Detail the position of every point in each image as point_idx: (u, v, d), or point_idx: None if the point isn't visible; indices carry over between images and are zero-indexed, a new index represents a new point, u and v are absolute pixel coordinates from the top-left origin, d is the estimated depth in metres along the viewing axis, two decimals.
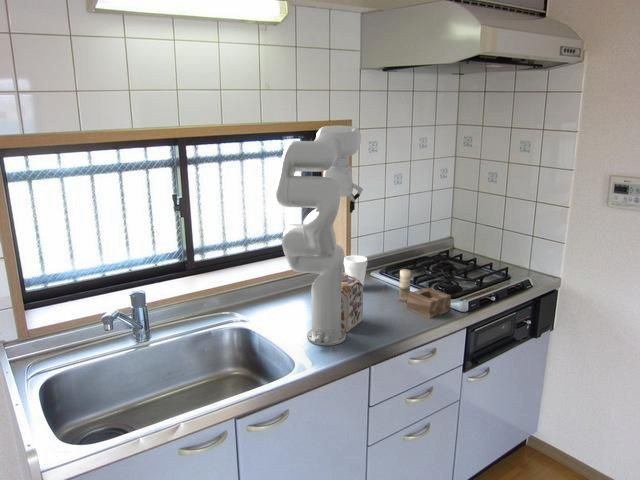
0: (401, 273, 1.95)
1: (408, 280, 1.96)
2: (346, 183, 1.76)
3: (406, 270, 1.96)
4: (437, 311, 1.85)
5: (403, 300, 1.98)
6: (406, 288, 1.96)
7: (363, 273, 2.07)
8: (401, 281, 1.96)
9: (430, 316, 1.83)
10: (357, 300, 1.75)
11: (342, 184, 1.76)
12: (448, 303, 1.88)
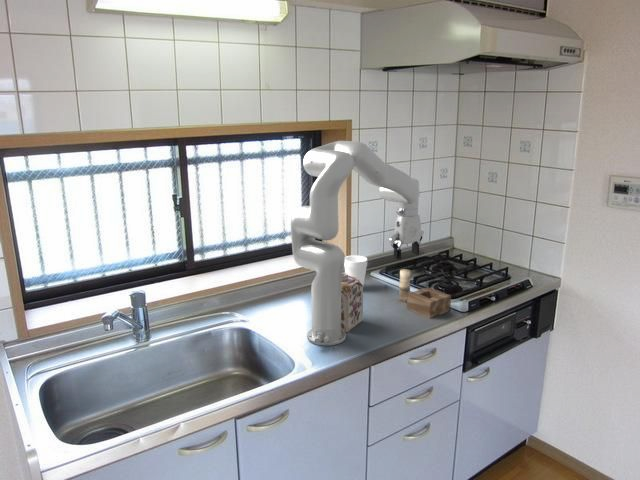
0: (401, 273, 1.95)
1: (408, 280, 1.96)
2: (418, 229, 1.92)
3: (406, 270, 1.96)
4: (437, 311, 1.85)
5: (403, 300, 1.98)
6: (406, 288, 1.96)
7: (363, 273, 2.07)
8: (401, 281, 1.96)
9: (430, 316, 1.83)
10: (356, 300, 1.75)
11: (416, 231, 1.92)
12: (448, 303, 1.88)
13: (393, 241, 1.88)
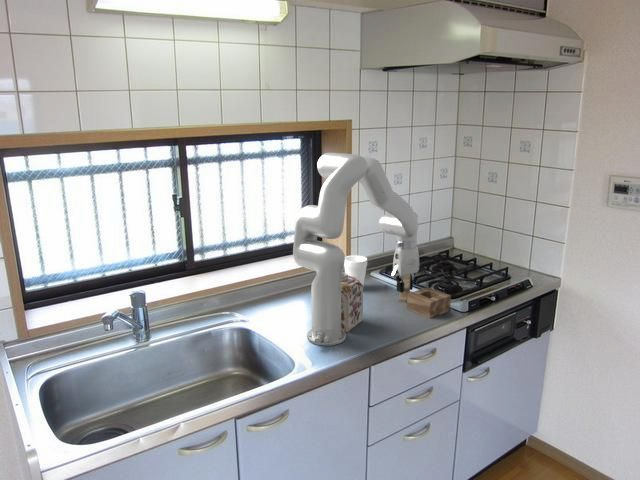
0: None
1: (408, 280, 1.96)
2: (417, 261, 1.95)
3: None
4: (437, 311, 1.85)
5: (403, 300, 1.98)
6: (406, 288, 1.96)
7: (363, 273, 2.07)
8: None
9: (430, 316, 1.83)
10: (356, 300, 1.75)
11: (414, 262, 1.95)
12: (448, 303, 1.88)
13: (396, 276, 1.93)
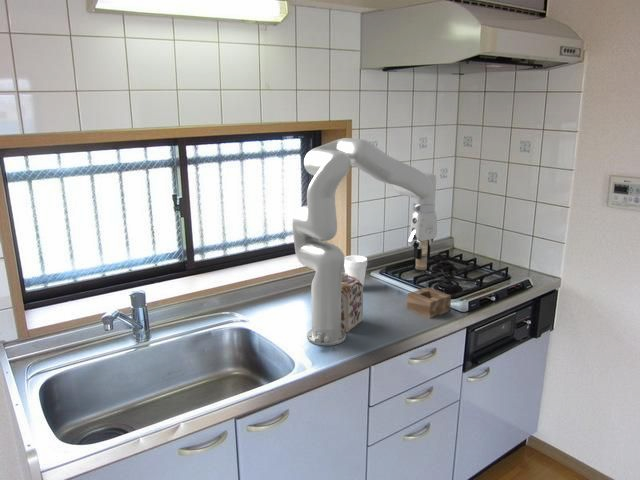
0: None
1: (425, 246, 1.86)
2: (435, 226, 1.86)
3: None
4: (437, 311, 1.85)
5: (420, 268, 1.88)
6: (423, 255, 1.87)
7: (363, 273, 2.07)
8: None
9: (430, 316, 1.83)
10: (356, 300, 1.75)
11: (432, 227, 1.85)
12: (448, 303, 1.88)
13: (413, 242, 1.83)
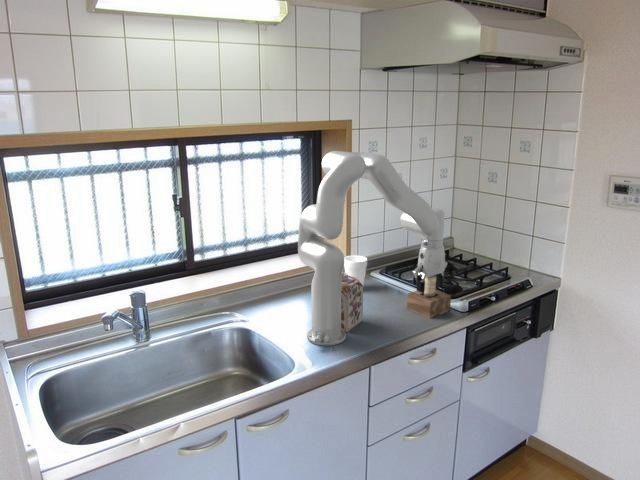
0: (426, 279, 1.86)
1: (433, 286, 1.86)
2: (443, 261, 1.85)
3: (431, 276, 1.87)
4: (437, 311, 1.85)
5: None
6: (431, 294, 1.87)
7: (363, 273, 2.07)
8: (426, 287, 1.87)
9: (430, 316, 1.83)
10: (356, 300, 1.75)
11: (440, 262, 1.85)
12: (448, 303, 1.88)
13: (417, 274, 1.81)
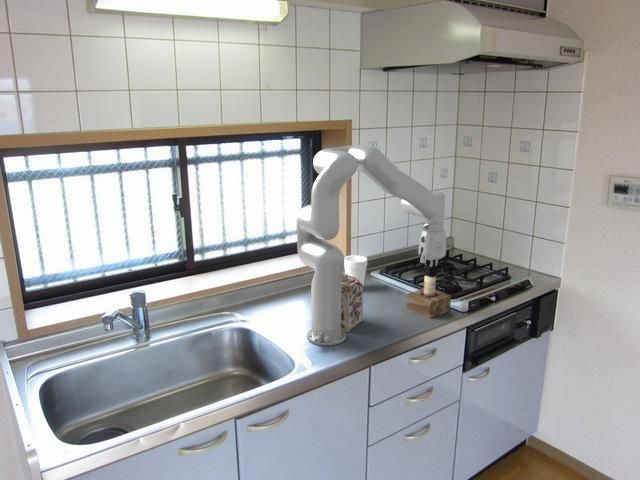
0: (426, 279, 1.86)
1: (433, 286, 1.86)
2: (444, 245, 1.84)
3: None
4: (437, 311, 1.85)
5: None
6: (431, 294, 1.87)
7: (363, 273, 2.07)
8: (426, 287, 1.87)
9: (430, 316, 1.83)
10: (356, 300, 1.75)
11: (441, 246, 1.83)
12: (448, 303, 1.88)
13: (425, 261, 1.83)
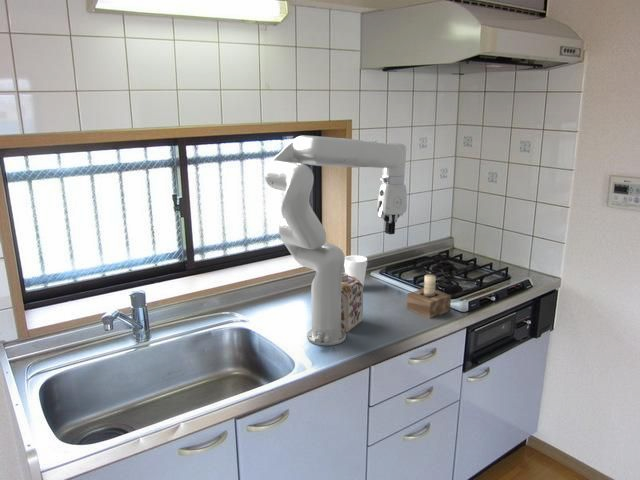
0: (426, 279, 1.86)
1: (433, 286, 1.86)
2: (404, 200, 1.76)
3: (431, 276, 1.87)
4: (437, 311, 1.85)
5: None
6: (431, 294, 1.87)
7: (363, 273, 2.07)
8: (426, 287, 1.87)
9: (430, 316, 1.83)
10: (356, 300, 1.75)
11: (401, 201, 1.76)
12: (448, 303, 1.88)
13: (383, 216, 1.75)
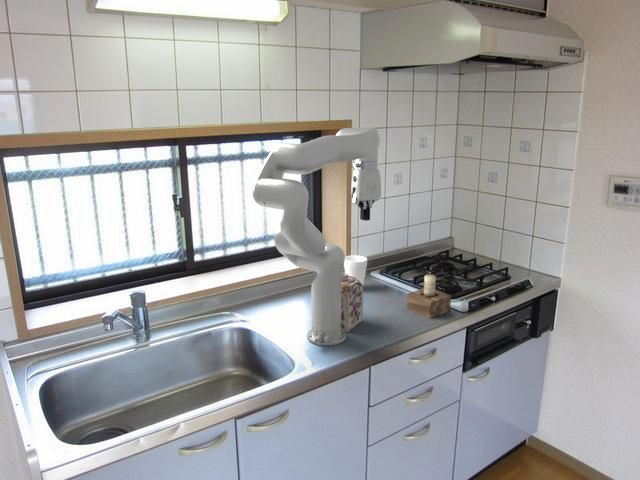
0: (426, 279, 1.86)
1: (433, 286, 1.86)
2: (378, 185, 1.74)
3: (431, 276, 1.87)
4: (437, 311, 1.85)
5: None
6: (431, 294, 1.87)
7: (363, 273, 2.07)
8: (426, 287, 1.87)
9: (430, 316, 1.83)
10: (356, 300, 1.75)
11: (375, 187, 1.73)
12: (448, 303, 1.88)
13: (358, 202, 1.72)
